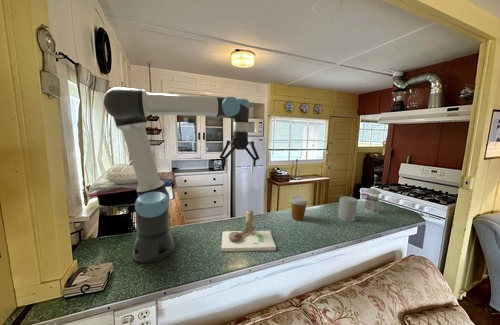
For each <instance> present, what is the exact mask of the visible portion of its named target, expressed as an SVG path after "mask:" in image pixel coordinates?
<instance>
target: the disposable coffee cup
mask: <svg viewBox="0 0 500 325" xmlns="http://www.w3.org/2000/svg"><path fill="white" fill-rule="evenodd" d="M290 202H291V217H292V220H294V221H297V222H301V221H303V220H304V218H305V217H304V216H305V214H306V213H305V212H306V209H307V205H308V200H307V198H305V197H302V196H293V197H291V199H290Z"/></svg>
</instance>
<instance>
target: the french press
mask: <svg viewBox="0 0 500 325" xmlns="http://www.w3.org/2000/svg"><path fill="white" fill-rule="evenodd" d="M373 177H374V179H376V178H378V175H377V174H374V175H373ZM373 182H374V184H373V186H375V185H376V181H373ZM366 192H367V193H368V194H372V195H367V196H366V198H365V203H364V208H363V209H362V210H364V211H365V212H364V211H363V212H364V213H366V212H367V213H366V214H368V213H371V214H370V215H373V214H378V213H379V214H380V211H379V207H380V206H381V204H382V203H381V202H380V201H382V198H381V196H380V194H381V191H380V190H378V189H376V188H369V189H366ZM374 195H375V196H374ZM376 195H378V196H376ZM379 214H378V215H379Z"/></svg>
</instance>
